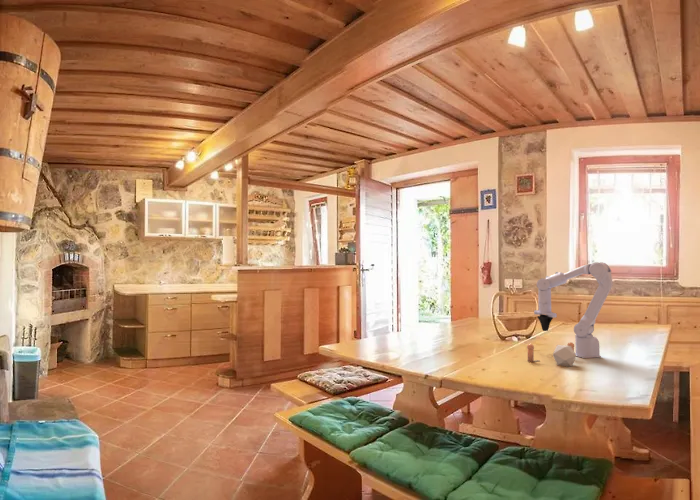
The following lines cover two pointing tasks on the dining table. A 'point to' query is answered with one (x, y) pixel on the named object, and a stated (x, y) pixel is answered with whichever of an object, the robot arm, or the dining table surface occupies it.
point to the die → (564, 355)
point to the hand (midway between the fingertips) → (545, 330)
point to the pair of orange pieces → (531, 351)
